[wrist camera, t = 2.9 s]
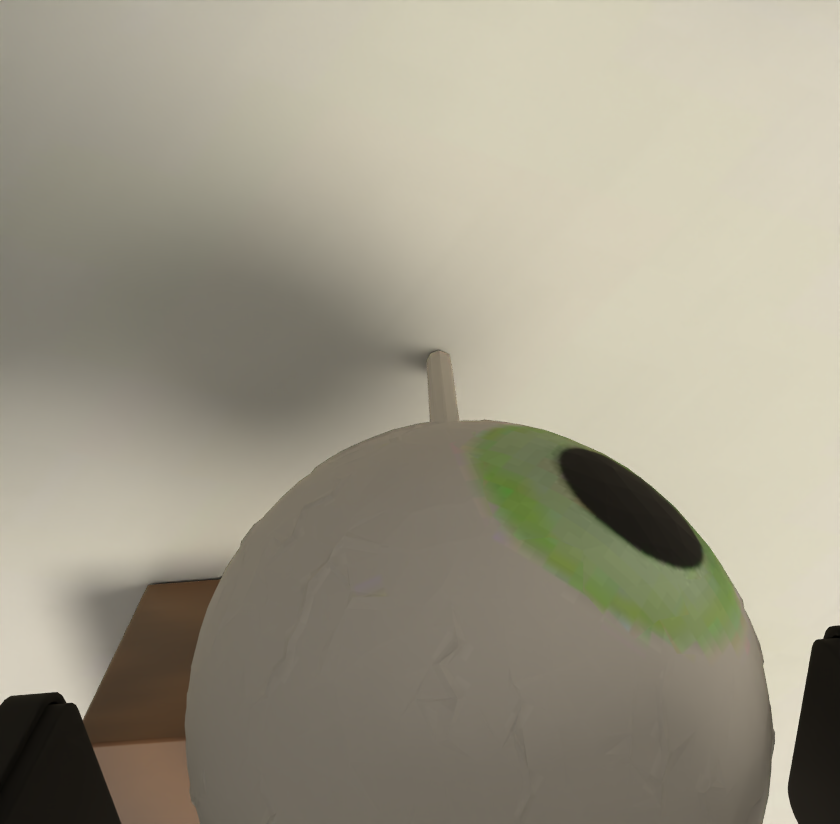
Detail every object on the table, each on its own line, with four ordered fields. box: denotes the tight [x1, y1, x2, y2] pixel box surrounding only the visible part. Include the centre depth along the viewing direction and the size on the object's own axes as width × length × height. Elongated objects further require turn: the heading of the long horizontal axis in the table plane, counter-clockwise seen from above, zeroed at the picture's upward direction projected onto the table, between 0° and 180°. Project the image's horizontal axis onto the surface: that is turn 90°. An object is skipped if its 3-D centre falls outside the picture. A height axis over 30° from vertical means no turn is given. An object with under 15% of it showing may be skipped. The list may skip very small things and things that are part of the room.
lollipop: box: [185, 350, 775, 824], centre depth 13 cm, size 7×7×15 cm
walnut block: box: [83, 579, 221, 824], centre depth 23 cm, size 11×11×6 cm
